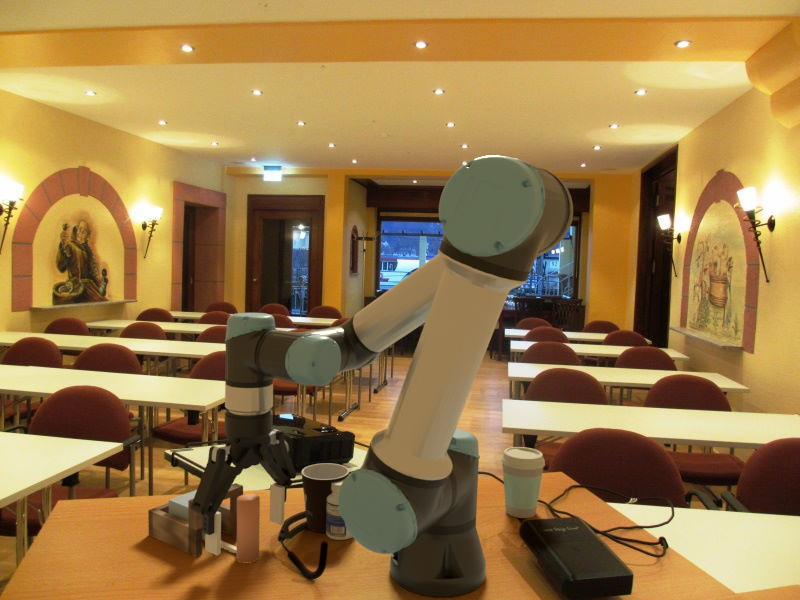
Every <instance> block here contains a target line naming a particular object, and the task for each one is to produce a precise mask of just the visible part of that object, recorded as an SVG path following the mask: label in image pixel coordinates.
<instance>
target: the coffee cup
mask: <svg viewBox="0 0 800 600" xmlns="http://www.w3.org/2000/svg"><path fill="white" fill-rule="evenodd" d="M545 461H546V460H545V459H544V455H543V453H542V451H540V450H537V449H535V448H531V447H525V446H515V447H514V446H513V447H508V448H506V449H504V451H503V453H502V455H501V458H500V462H501V464H502V476H503V479H502V480H503V488H504V489H503V490H504V503H505V512H506V514H508V515H509V516H511V517H514V518H519V519H529V518H533V517H535V516H536V514H537V509H538V502H539V495H540V490H541V483H542V478H543V471H544V468H545V466H546V463H545Z"/></svg>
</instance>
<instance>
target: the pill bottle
mask: <svg viewBox="0 0 800 600" xmlns="http://www.w3.org/2000/svg"><path fill="white" fill-rule="evenodd" d="M344 480H345V479H344ZM344 480H342V481H339V482H334V483H332V484H331V490H332V494H330V495H329V496H328V497H327V510H326V532H325V533H326V536H327V537H328V538H330V539H332V540H335V541H345V540H349V539H351V538H353V537H352V535H351V534H350V533H349V531H348V530H347V528H346V526H345V521H344V520H343V518H342V517H341V514H340V510H339V504H338V496H339V490H340V487H341V484H342V483H343V481H344Z"/></svg>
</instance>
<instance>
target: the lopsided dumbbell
mask: <svg viewBox="0 0 800 600" xmlns="http://www.w3.org/2000/svg"><path fill="white" fill-rule="evenodd" d="M196 491H197V489H195V490H192V491H190V492H187V493H186V492H185V493H184V494H181V495H179V496H176V497H174V498H171V499H168V503H169V514H170V515H173V516H175V517H177V518H180V519H182V520H185V521H187V522H188V501H189V500H191V499H194V497H195V494H196ZM260 500H261V498H260V496H259V495H257V494H253V493H246V494H243V495H241V496H239V497H238V498H237V537H236V546H235V545H234V544H233V545H232V544H230V543H228V542H225V541H223V540H221V549H223V548H224V549H223V550H225V549H226V551H227V550H229V551H228V552H230V551H231V552H230V553H232V552H233V553H232V554H234V553H236V554H235V555H236V561H237V560H238V562H239V561H240V562H239V563H241V562H246V563H245V564H250V563H249V562H251V563H254V562H256V561H258V560H259V559H260V513H261V511H260V509H261V508H260V507H261V506H260V505H261V501H260ZM217 511H218V512H219V508H218V510H217ZM202 541H205V533H203V531H202ZM258 558H259V559H258ZM257 559H258V560H257ZM255 560H256V561H255ZM253 561H254V562H253ZM247 562H248V563H247Z"/></svg>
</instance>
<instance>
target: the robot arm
mask: <svg viewBox="0 0 800 600" xmlns="http://www.w3.org/2000/svg"><path fill="white" fill-rule="evenodd" d="M573 217H574V203H573V199H572V195H571V194H570V191H569V189H568V187H567V185H566V184H565V183H564V182H563V181H562V180H561V178H559V177H558V176H557V175H556V174H554V173H552V172H551V171H549V170H547V169H544V168H540V167H538V166H535V165H532V164H530V163H528V162H526V161H523V160H521V159H519V158H516V157H510V156H507V155H503V156H502V155H485V156H480V157H477V158H475V159H472V160H470V161H468V162H466V163H464V164H463V165H461V166H460V167H459V168H458V169H457V170H455V172H454V173H453V174H452V175H451V176H450V177H449V179H448V180H447V182H446V184H445V185H444V187H443V190H442V192H441V195H440V199H439V204H438V218H439V221H440V222H441V226H442V227H441V228H442V231H443V235H442V237H441V238H442V239H441V241H440V245H439V246H438V250H437V254H436V255H435V256H434V257H432V258H431V259H429V260H428V261H427V262H425V263H424V264H422V265H421V266H420V267H419V268H417V269H416V270H414V271H413V272H411V273H410V274H409V275H407V276H406V277H404V278H403V279H402V280H400V281H399V282H398V283H396V284H395V285H394V286H392V287H391V288H390V289H388V290H387V291H385V292H383V294H381V295H380V296H379V297H377V298H376V299H374V300H373V301H371V302H370V303H369V304H367V305H366V306H365V307H363V308H362V309H360V310H359V311H358V312H357V313H355V315H352V317H350V318H349V319H346V321H344V322H343V323H341V324H339V325H337V326H332V327H326V328H320V329H314V330H305V331H289V330H281V329H276V327H277V325H276V322H275V317H274V316H273V315H272V314H268V313H266V312H265V313H264V312H238V313H234V314H231V315H230V316H229V317H228V318H227V321H226V331H225V339H224V342H225V380H224V384H225V385H224V389H225V390H224V407H225V408H226V409H227V410H226V411H225V412H224V433H225V435H226V443H225V446H219V447H218V446H214V445H211V446H210V447H209V449H208V457H207V462H206V465H205V468H204V471H203V473H202V476H201V479H200V481H199V484H198V486H197V489H196V490H197V491H196V494H195V497H194V499H193V502H192V505H191V510H192V511H194V512H197V513H199V514H202V531H203V533H205V542H204V543H205V544H204V545H205V548H204V549H205V550H204V551H206V552H209V553H210V554H213V555H215V556H219V555H220V554H221V552H222V551H221V549H222V548H221V541H222V533H221V532H222V531H221V513H220V512H218V511H217V510H218V508H219V507H220V505H221V503H223V501H225V500H224V498H225V496H226V494H227V492H228V491H229V489H230V487H231V485H232V484H234V482H235V480H236V478H237V477H238V476H239V475H241V473H242V472H243V470H247V469H249V468H251V467H253V466H258V465H261V467H262V468H263V469H264V470H265V472H266V473H267V474H268V476H270V478H271V479H272V481H274V482H273V483H271V484H270V485H269V487H270V488H269V490H270V491H269V492H270V494H269V522H272V523H274V524H277V525H280V526H282V525H284V524H285V503H286V501H287V491H288V490H287V487H291V486H292V484H293V480H294V479H296V477H297V472H296V469H295V467H294V465H293V460H292V459H291V456H290V454H289V452H288V449H287V446H286V443H285V433H284V431H283V430H279V429H276V428H273V410H272V409H271V408H272V407H274V379H278V380H281V381H285V382H289V383H290V382H291V383H295V384H299V385H302V386H308V387H309V386H318V387H323V386H326V385H327V386H328V384H330V383H331V382H332V380H333V379H334V378H336V377H337V375H338V374H339V373H343V372H347V371H351V370H352V371H353V370H356V369H357V370H359V369H362V368H365V367H366V366H369V365H371V364H373V363H375V362H376V361H377V360H378V358H379V357H380V355H381V353H382V351H384V350H386V349H387V348H388V347H390V346H391V345H393V344H395V343H396V342H398V341H399V340H400V339H402V338H403V337H405V336H407V335H408V334H410V333H412V332H413V331H414V330H416V329H417V328H419V327H421V326H422V325H423V329H422V331H421V334H420V336H419V340H418V342H417V345H416V348H415V350H414V353H413V356H412V359H411V361H410V364H409V366H408V369H407V372H406V376H405V378H404V381H403V384H402V387H401V390H400V392H399V394H398V397H397V400H396V404H395V406H394V410H393V412H392V414H391V417H390V420H389V422H388V426H387V427H386V428H385V429H382V430H379V431H377V432H376V433H375V434H373V436H372V438H371V439H370V443H369V446H368V448H367V451H366V455H365V458H364V459H363V463H362V465H361V466H360V468H357V469H354V470H352V471H351V472H349V476H347V477H346V478H345V480H344V481H343V483H342V484H341V487H340V490H339V496H338V504H339V510H340V514H341V517H342V518H343V520H344V521H345V526H346V528H347V530H348V531H349V533H350V534H351V535H352V538H353V539H354V540H355V541H356V542H357V543H358V544H359V545H360V546H362V547H364V548H365V549H366V550H369V551H371V552H374V553H376V554H382V555H387V554H390V560H389V561H390V562H389V568H390V569H389V571H390V575H391V577H392V579H393V580H394V581H395V582H396V583H397V584H398V585H400V586H401V587H403V588H404V589H407V590H408V591H411V592H414V593H416V594H421V595H425V596H431V597H443V598H445V597H457V596H461V595H465V594H468V593H471V592H473V591H475V590H477V589H478V588H479V587H480V586H482V584H483V583H484V581H485V580H486V573H487V572H486V570H487V569H486V568H487V563H486V558H485V554H484V551H483V547H482V542H481V540H480V536H479V533H478V529H477V507H478V505H477V504H478V486H479V466H480V464H479V463H480V459H481V458H480V456H481V455H480V454H479V453H480V452H479V451H480V450H479V441H478V438H477V437H476V436H475V434H472V433H471V432H469V431H467V430H463V429H459V428H457V427H458V425H459V422H460V418H461V416H462V414H463V411H464V408H465V406H466V403H467V401H468V398H469V395H470V393H471V391H472V389H473V386H474V383H475V381H476V378H477V375H478V372H479V370H480V368H481V365H482V362H483V359H484V357H485V355H486V352H487V349H488V347H489V344H490V341H491V339H492V336H493V334H494V331H495V329H496V326H497V323H498V321H499V318H500V316H501V314H502V311H503V308H504V306H505V304H506V301H507V298H508V295H509V293H510V292H511V291H512V290H513V289H515V288H518V287H520V286H522V285H525V284H526V283H527V281H528V279H529V275H530V273H531V270H532V268H533V266H534V263H535V261H536V259H537V258H538V257H540V256H542V255H544V254H546V253H547V252H549V251H551V250H552V249H553V248H555V247H556V246H557V245H559V244H560V242H561V241H562V240H563V239H564V238H565V237H566V235H567V233H568V231H569V230H570V228H571V225H572V222H573ZM269 446H270V448H271V451H272V454H273V455H272V454H271V453H270V452H269V450H268V448H269ZM273 456H274V457H273ZM274 458H275V460H274ZM232 464H233V465H232ZM211 503H212V505H211Z"/></svg>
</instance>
